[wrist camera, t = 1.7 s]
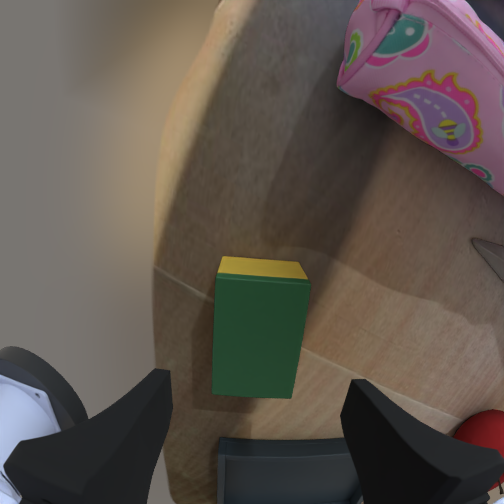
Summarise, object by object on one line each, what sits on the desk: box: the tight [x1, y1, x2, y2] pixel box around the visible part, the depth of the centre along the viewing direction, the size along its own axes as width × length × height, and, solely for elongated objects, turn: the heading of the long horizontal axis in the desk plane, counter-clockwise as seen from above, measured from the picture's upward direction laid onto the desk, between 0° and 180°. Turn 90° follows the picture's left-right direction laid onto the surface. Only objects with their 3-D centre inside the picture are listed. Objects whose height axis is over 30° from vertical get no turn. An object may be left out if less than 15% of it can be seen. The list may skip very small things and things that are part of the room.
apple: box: [453, 409, 504, 494], centre depth 18 cm, size 9×9×10 cm
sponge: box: [212, 256, 311, 399], centre depth 17 cm, size 4×7×4 cm, turn 175°
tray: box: [217, 437, 363, 504], centre depth 22 cm, size 15×12×2 cm
